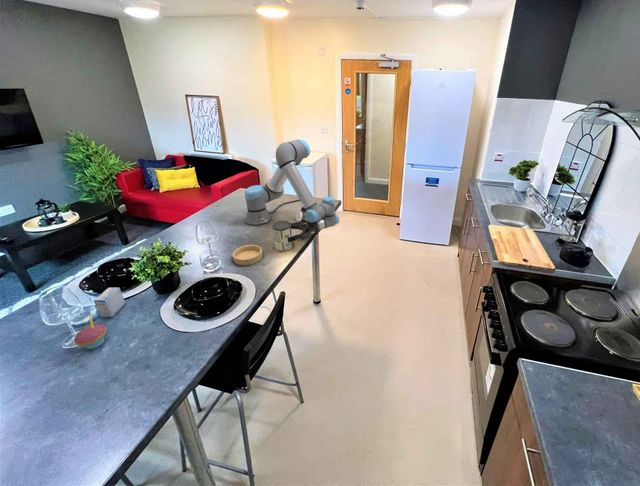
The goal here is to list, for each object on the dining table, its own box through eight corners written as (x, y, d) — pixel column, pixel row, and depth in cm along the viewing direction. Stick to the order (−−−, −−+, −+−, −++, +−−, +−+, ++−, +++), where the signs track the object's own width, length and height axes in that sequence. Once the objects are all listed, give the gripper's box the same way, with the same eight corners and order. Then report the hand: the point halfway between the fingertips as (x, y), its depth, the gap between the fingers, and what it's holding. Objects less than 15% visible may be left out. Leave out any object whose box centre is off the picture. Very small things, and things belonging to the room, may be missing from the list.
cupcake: (106, 330, 109) (94, 306, 104) (114, 341, 104) (102, 316, 99) (76, 346, 102) (62, 321, 97) (83, 358, 98) (69, 333, 93)
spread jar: (318, 219, 199) (317, 203, 195) (306, 225, 191) (305, 209, 186) (305, 215, 205) (304, 200, 200) (293, 220, 196) (292, 205, 192)
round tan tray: (245, 248, 163) (244, 242, 162) (267, 252, 160) (267, 247, 158) (227, 262, 151) (226, 256, 149) (251, 267, 147) (250, 261, 146)
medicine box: (115, 303, 122) (107, 287, 118) (126, 303, 122) (119, 286, 118) (100, 317, 114) (92, 300, 111) (112, 317, 115) (105, 300, 111)
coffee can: (281, 240, 172) (279, 219, 166) (296, 243, 169) (294, 222, 163) (270, 249, 163) (267, 227, 158) (286, 252, 160) (284, 230, 155)
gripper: (326, 238, 168) (293, 250, 156) (306, 223, 186) (274, 232, 174) (326, 227, 165) (292, 238, 153) (305, 212, 183) (273, 221, 170)
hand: (282, 235), depth 163 cm, fingers open, 13 cm apart
